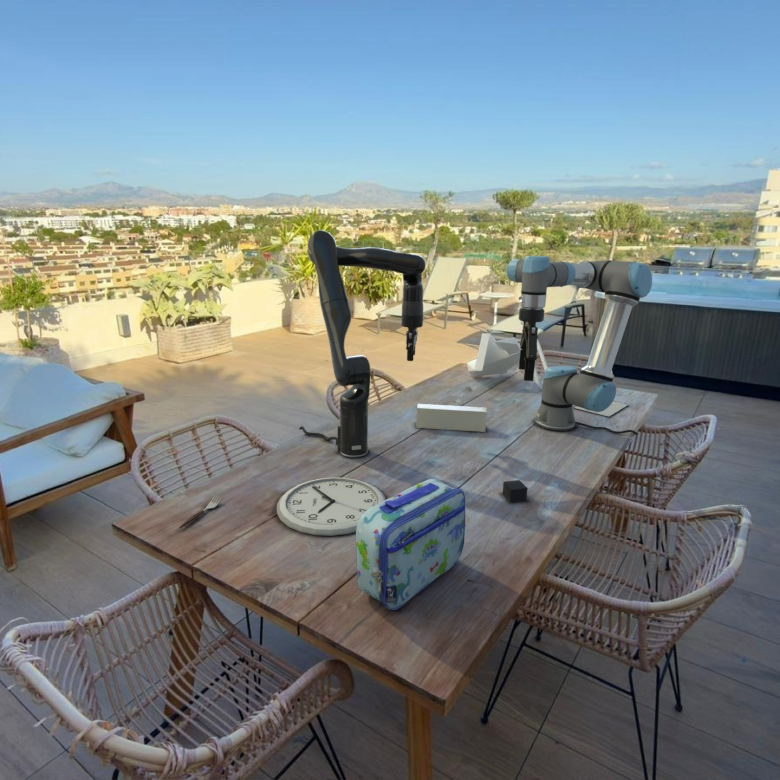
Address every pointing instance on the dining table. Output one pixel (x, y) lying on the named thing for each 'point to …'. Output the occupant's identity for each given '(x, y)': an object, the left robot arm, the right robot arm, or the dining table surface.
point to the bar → (451, 417)
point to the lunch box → (409, 541)
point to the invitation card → (608, 409)
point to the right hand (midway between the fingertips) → (525, 374)
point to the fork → (209, 506)
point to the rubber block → (514, 491)
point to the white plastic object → (500, 357)
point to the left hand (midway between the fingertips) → (411, 357)
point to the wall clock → (327, 505)
